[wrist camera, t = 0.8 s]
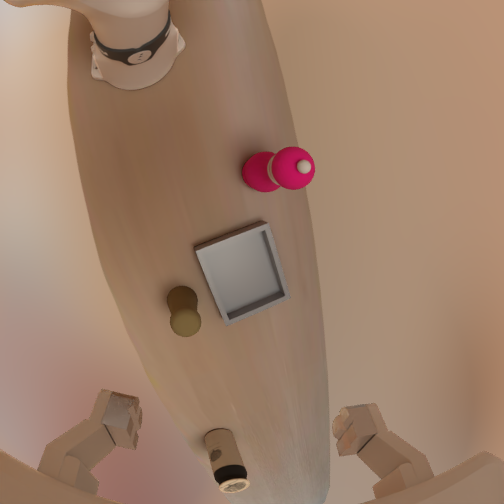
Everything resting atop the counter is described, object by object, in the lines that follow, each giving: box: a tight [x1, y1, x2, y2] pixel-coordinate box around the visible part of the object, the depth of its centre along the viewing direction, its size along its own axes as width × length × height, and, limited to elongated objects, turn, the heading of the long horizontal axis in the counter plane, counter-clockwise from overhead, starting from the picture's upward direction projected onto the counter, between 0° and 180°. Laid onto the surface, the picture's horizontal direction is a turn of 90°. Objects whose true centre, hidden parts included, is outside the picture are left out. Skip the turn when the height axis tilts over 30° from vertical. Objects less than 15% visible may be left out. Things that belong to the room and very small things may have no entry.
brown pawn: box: [167, 286, 201, 337], centre depth 48 cm, size 6×6×11 cm
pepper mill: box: [242, 147, 315, 192], centre depth 42 cm, size 7×7×20 cm
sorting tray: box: [194, 221, 291, 326], centre depth 53 cm, size 16×14×4 cm
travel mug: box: [205, 429, 250, 493], centre depth 55 cm, size 8×8×18 cm
